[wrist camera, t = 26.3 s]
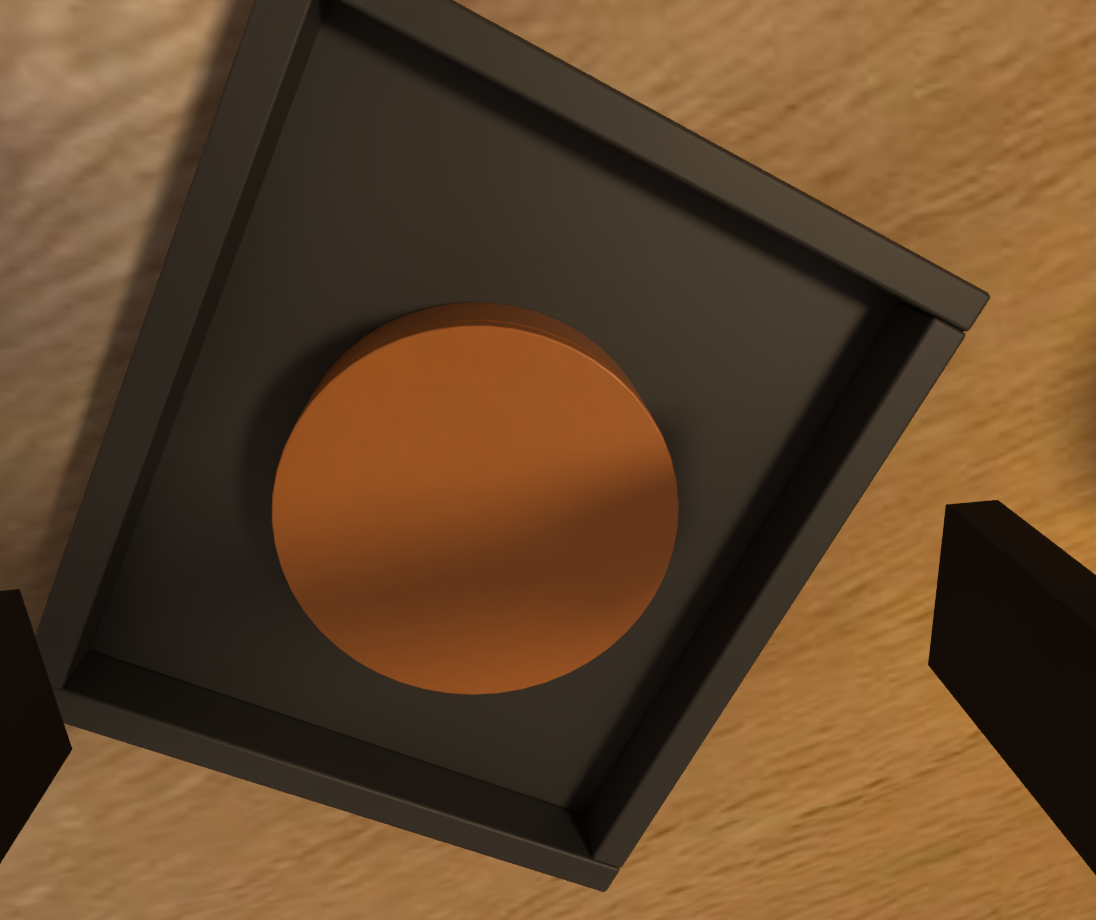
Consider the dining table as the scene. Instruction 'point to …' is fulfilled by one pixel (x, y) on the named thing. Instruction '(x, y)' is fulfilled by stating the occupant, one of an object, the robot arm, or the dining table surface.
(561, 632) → the lid
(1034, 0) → the dining table surface
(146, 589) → the tray
